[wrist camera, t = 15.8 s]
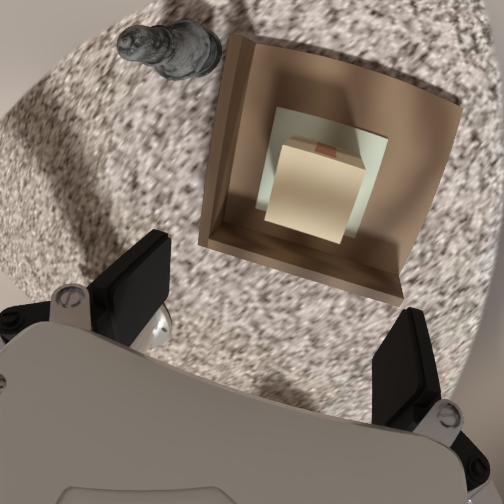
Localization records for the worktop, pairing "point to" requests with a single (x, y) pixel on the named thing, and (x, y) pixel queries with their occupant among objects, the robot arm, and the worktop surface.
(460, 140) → the worktop surface
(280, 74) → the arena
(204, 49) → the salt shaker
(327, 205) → the maple cube
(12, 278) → the worktop surface
